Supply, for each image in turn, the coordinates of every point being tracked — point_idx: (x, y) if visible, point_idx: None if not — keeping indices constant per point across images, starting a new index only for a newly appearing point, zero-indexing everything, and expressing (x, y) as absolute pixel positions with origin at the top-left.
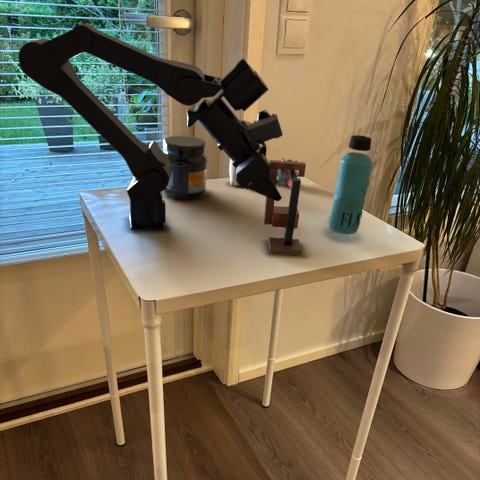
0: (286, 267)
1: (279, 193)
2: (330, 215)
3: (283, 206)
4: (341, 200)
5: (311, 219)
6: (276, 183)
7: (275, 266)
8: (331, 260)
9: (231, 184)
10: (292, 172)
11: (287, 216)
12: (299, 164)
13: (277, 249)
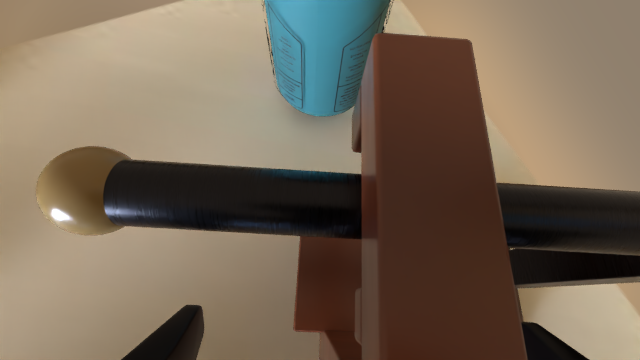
0: (588, 297)
1: (559, 348)
2: (313, 93)
3: (300, 269)
4: (378, 20)
5: (204, 153)
6: (202, 316)
7: (597, 335)
8: (494, 156)
9: None
10: (536, 217)
11: (537, 284)
12: (479, 103)
13: (522, 320)
